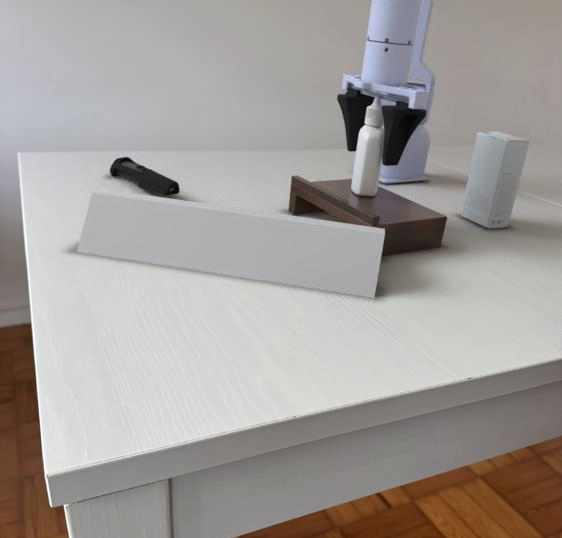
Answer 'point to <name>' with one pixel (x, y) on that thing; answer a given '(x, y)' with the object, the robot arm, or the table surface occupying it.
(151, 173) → the electric trimmer
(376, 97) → the eye dropper bottle
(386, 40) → the robot arm
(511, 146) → the cosmetic box
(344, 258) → the molding piece
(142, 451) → the table surface
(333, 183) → the shelf
